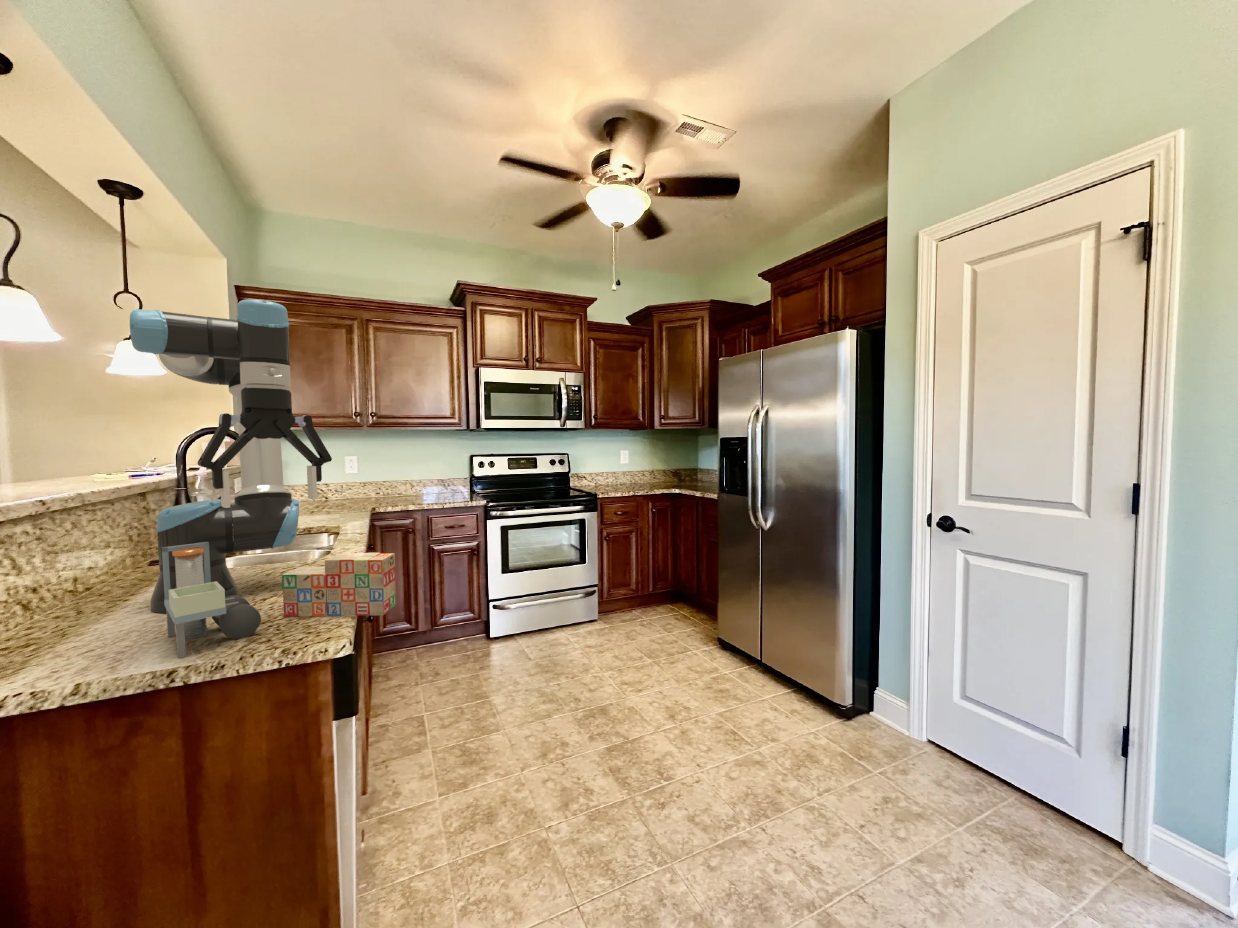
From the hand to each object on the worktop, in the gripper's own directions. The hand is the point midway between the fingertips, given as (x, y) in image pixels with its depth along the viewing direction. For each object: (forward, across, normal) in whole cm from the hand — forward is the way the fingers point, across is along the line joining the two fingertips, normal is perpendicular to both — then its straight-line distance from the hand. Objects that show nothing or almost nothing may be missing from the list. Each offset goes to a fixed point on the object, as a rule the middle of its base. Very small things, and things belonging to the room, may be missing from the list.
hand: (271, 502), depth 91 cm
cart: (+26, -8, +10) cm, 29 cm away
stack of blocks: (+26, +13, +6) cm, 30 cm away
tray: (+19, -10, +6) cm, 22 cm away
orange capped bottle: (+26, -10, +13) cm, 31 cm away
